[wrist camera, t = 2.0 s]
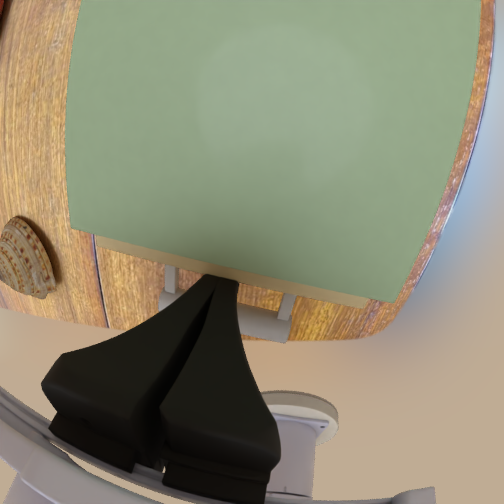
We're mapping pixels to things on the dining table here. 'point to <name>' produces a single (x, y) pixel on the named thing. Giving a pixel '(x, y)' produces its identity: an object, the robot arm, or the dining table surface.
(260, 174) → the cabinet
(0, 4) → the planter
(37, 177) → the dining table surface
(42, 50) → the dining table surface
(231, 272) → the drawer
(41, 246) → the seashell
